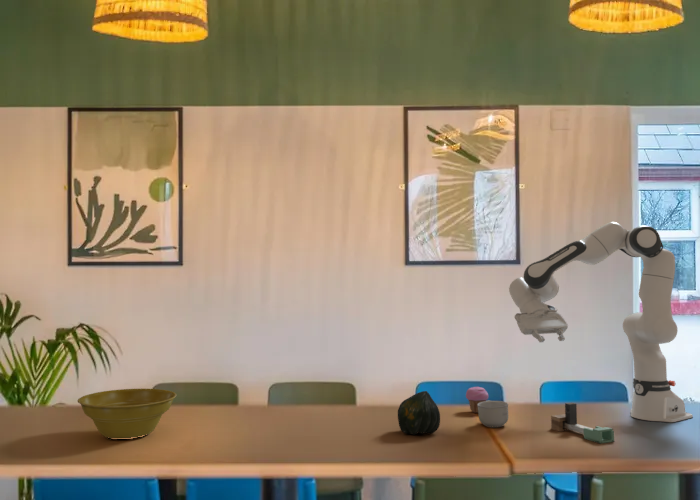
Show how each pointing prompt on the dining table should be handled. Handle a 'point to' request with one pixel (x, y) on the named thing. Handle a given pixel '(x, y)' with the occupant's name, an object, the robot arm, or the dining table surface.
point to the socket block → (558, 422)
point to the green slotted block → (599, 434)
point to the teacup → (493, 413)
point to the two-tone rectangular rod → (572, 419)
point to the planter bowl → (127, 410)
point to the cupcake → (476, 397)
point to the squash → (419, 414)
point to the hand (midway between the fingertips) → (552, 340)
